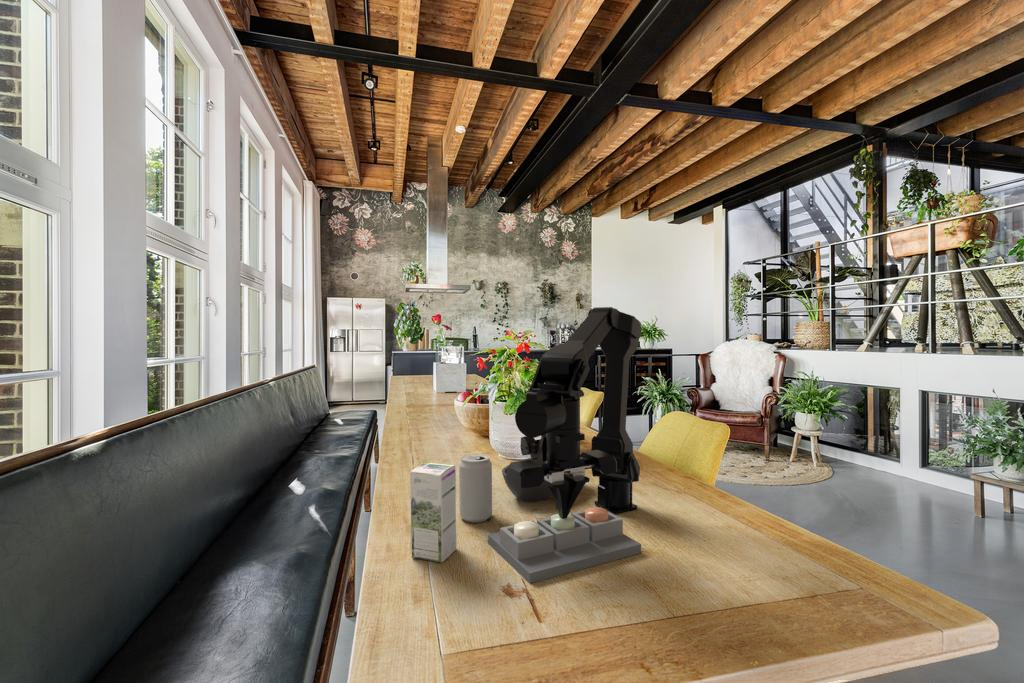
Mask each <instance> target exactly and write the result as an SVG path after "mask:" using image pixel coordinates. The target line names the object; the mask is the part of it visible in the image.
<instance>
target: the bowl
mask: <svg viewBox="0 0 1024 683" xmlns="http://www.w3.org/2000/svg"><path fill="white" fill-rule="evenodd" d="M524 460H530V461H532V462H534V463H536V464H538V465H542V464H546V462H545V461H540V460H539V458H537V459H536V460H531V457H528V458H524V459H522V460H520V461H524ZM508 466H509V464H507V465H506V466H504V467H503V468H502V470H501V475H502V478H503V480H504V482H505V485H506V487H507V488H508V489H509V491H510V492H511V494H512V495H513V496H514V497H515V498H516V499H517V500H518V501H523V502H533V501H534V502H536V501H541V500H546V499H549V498H553V497H552V494H551V492H550V490H549V488H548V486H547V485H546V484H545V483H542V484H541V485H540V486H536V487H530V488H521V487H519V486H517V485H516V484H514V483H513V482H511V481H510V480H508V479H507V468H508ZM554 469H557V468H554Z"/></svg>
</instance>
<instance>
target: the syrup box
mask: <svg viewBox="0 0 1024 683" xmlns="http://www.w3.org/2000/svg"><path fill="white" fill-rule="evenodd" d="M456 469H457V468H456V465H455V464H445V463H435V462H424V463H421V464H420V465H418V466H416V467H415V468H413V469H412V470H410V474H409V475H410V477H409V478H410V480H409V481H410V529H411V530H410V531H411V532H410V534H411V535H410V537H411V558H413V559H418V560H424V561H431V562H436V563H443V562H444V561H446V559H448V558H449V557H450V556H451V555H452V554H453V553H454V551H456V550H457V515H456V514H457V513H456V512H457V511H456V510H457V509H456V508H457V507H456V506H457V503H456V502H457V496H456V495H457V494H456V493H457V477H456V476H457V475H456V473H457V472H456Z"/></svg>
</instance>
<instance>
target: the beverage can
mask: <svg viewBox="0 0 1024 683" xmlns="http://www.w3.org/2000/svg"><path fill="white" fill-rule="evenodd" d="M460 460H461V461H460V462H459V464H458V473H459V474H458V476H459V478H458V479H459V483H458V484H459V486H458V488H459V492H458V493H459V494H458V495H459V516H460V518H462V519H463V520H464V521H465V522H469V523H482V522H485V521H487V519H488V520H489V519H490V518H491V516H492V515H493V467H492V465H493V464H492V461H491V457H490V456H489V455H488V454H484V453H471V454H466V455H465V454H464V455H462V456H461V457H460Z"/></svg>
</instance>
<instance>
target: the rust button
mask: <svg viewBox="0 0 1024 683" xmlns="http://www.w3.org/2000/svg"><path fill="white" fill-rule="evenodd" d="M608 512H609V511H607V510H606V509H604V508H599V506H594V507H593V506H591V507H588V508H586V509H585V519H587V520H588V521H590V522H592V523H593V524H594V523H598V522H603V521H607V520H608Z"/></svg>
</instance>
